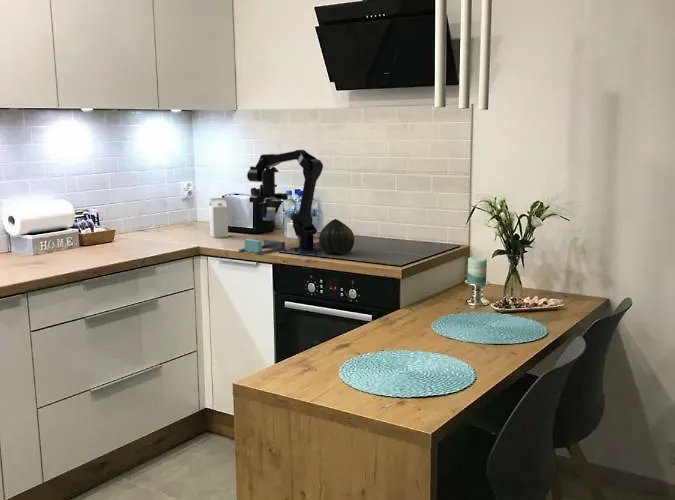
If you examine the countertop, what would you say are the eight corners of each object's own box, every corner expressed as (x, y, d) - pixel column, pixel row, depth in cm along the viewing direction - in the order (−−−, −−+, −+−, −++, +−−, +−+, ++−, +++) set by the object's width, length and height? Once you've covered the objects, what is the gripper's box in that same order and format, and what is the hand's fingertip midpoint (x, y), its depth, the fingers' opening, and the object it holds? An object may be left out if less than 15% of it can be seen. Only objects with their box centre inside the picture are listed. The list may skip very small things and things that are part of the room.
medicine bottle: (298, 239, 352) (297, 214, 350) (286, 238, 356) (286, 213, 354) (307, 237, 357) (307, 212, 355) (296, 236, 361) (295, 211, 359)
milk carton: (210, 236, 364) (208, 197, 360) (224, 235, 367) (222, 197, 363) (213, 238, 357) (212, 199, 354) (228, 237, 360) (226, 198, 357)
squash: (339, 244, 300) (350, 214, 307) (308, 243, 308) (320, 214, 315) (353, 263, 311) (363, 234, 317) (323, 261, 318) (334, 233, 325)
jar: (278, 219, 333) (277, 207, 332) (267, 221, 329) (267, 208, 329) (271, 218, 337) (270, 206, 337) (260, 219, 334) (260, 207, 333)
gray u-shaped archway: (266, 246, 330) (266, 239, 330) (284, 249, 322) (284, 241, 322) (238, 251, 318) (238, 243, 318) (257, 254, 311) (257, 246, 310)
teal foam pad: (248, 250, 320) (248, 239, 320) (262, 252, 315) (261, 241, 314) (244, 251, 319) (244, 239, 318) (258, 253, 313) (258, 241, 312)
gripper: (271, 180, 343) (272, 213, 345) (240, 182, 329) (241, 217, 332) (288, 181, 335) (288, 215, 338) (257, 184, 322) (258, 219, 324)
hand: (269, 217), depth 333 cm, fingers closed on jar, 6 cm apart
